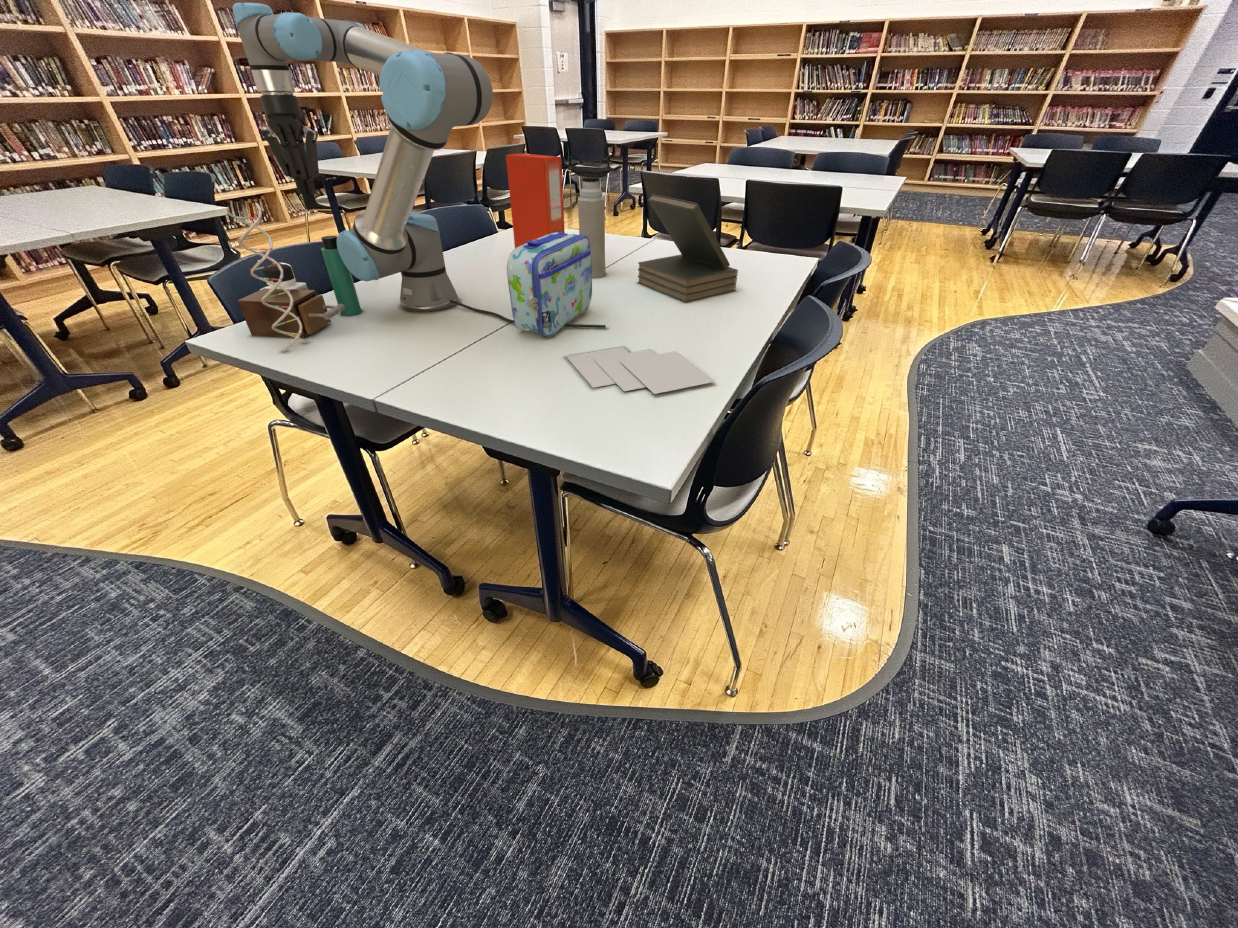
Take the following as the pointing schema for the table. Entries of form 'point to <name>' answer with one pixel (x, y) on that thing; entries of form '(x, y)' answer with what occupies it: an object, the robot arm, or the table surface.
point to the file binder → (535, 196)
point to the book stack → (687, 255)
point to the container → (288, 277)
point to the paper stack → (639, 370)
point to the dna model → (269, 278)
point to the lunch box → (550, 282)
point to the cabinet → (273, 312)
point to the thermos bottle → (593, 222)
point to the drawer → (316, 313)
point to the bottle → (340, 277)
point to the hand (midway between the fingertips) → (312, 208)
